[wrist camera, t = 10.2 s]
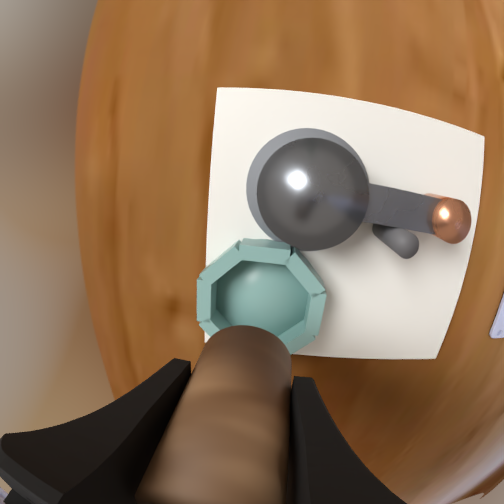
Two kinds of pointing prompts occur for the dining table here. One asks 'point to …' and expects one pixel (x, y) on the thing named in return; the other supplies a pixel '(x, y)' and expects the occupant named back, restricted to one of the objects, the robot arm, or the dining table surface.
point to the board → (368, 234)
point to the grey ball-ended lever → (343, 199)
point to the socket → (262, 292)
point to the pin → (227, 426)
